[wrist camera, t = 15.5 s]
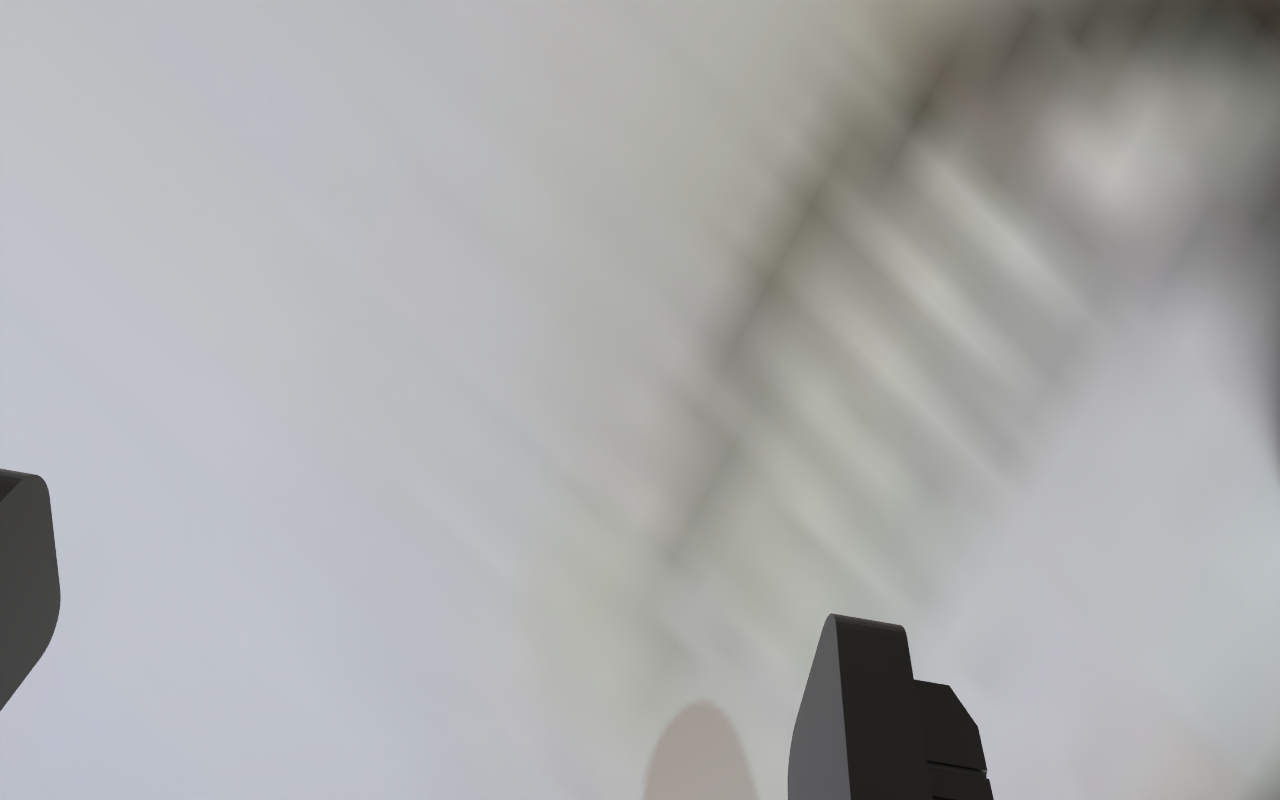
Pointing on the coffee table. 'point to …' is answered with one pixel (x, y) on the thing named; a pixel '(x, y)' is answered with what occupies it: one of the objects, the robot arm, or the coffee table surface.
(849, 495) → the coffee table surface
